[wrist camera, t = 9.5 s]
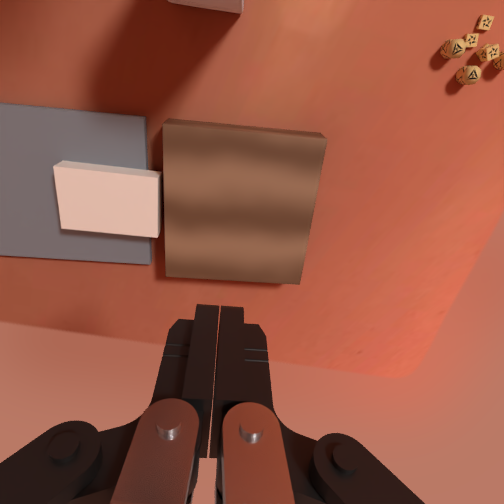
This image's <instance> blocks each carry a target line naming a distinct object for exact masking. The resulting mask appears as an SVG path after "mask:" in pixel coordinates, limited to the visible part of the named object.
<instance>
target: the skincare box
mask: <svg viewBox="0 0 504 504" xmlns="http://www.w3.org/2000/svg"><path fill="white" fill-rule="evenodd" d="M167 1H169V2H171V3H175V4H182V5H187V6H193V7H200V8H206V9H213V10H219V11H226V12H232V13H239V14H242V13H243V7H244V0H167Z"/></svg>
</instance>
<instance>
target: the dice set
mask: <svg viewBox="0 0 504 504" xmlns="http://www.w3.org/2000/svg"><path fill="white" fill-rule="evenodd" d="M493 19H494V16H488V15H481V16H480V19H479V21H478V24H477V27H476V29H480V30H486V31H487V30H489V29H490V27H491V24H492V21H493ZM478 36H479V34H465V38H464V40H463V39H452V40H447V41H446V42H445V43H444V44H443V45H442V46H441V52H440V54H441V55H442V57H443V58H459V57H460V56H461V55H462V54H463V53H464V52H465V48H466V47H476V45H477V41H478ZM476 54H477V56H478V58H479V59H480V61H481V62H484V61H489V60H492V59H494V62H493V66H494V67H495V68H496V69H497V70H504V51H502V52H499V44H491V45H489V44H485V45H484V46H483V47H482V48H481V49H479V50H478V51H477V52H476ZM480 77H481V69H480V68H479V67H478V66H464V67H461V68H460V69H459V70H458V72H457V73H456V81H457V82H458V83H459V84H464V85H471V84H475V83H476V82H477V81H478V80H479V79H480Z"/></svg>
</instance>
